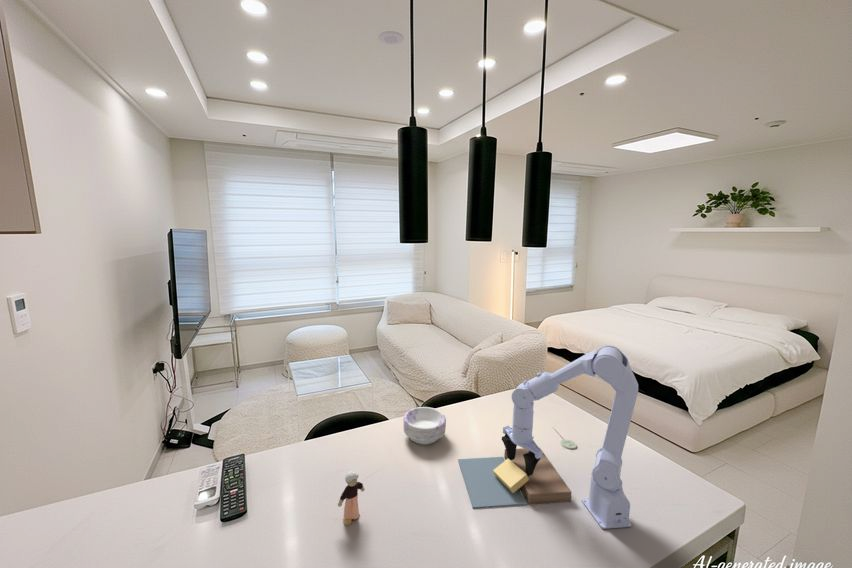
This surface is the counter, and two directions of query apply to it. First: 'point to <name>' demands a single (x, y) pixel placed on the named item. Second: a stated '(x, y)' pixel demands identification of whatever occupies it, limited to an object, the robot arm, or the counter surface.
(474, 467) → the mat
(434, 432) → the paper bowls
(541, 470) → the brown wooden board
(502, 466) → the yellow flat block
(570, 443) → the pale green spoon
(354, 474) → the grandmother figurine
